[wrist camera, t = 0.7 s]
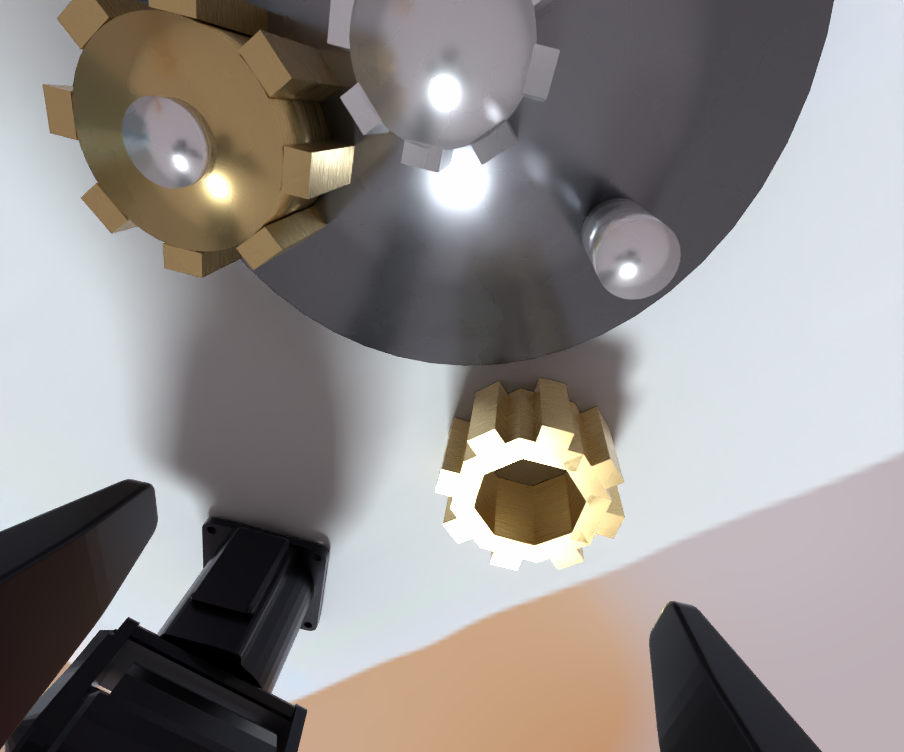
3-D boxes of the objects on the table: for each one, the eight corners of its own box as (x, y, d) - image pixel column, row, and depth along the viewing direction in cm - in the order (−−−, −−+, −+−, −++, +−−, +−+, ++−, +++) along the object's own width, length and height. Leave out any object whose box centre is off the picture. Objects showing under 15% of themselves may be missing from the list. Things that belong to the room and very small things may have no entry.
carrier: (639, 400, 20) (679, 496, 15) (173, 280, 20) (57, 334, 15) (994, -343, 11) (1407, -746, 6) (132, -555, 11) (-203, -1128, 6)
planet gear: (578, 525, 23) (586, 588, 20) (434, 487, 23) (421, 545, 20) (636, 402, 20) (657, 455, 17) (469, 359, 20) (459, 403, 17)
